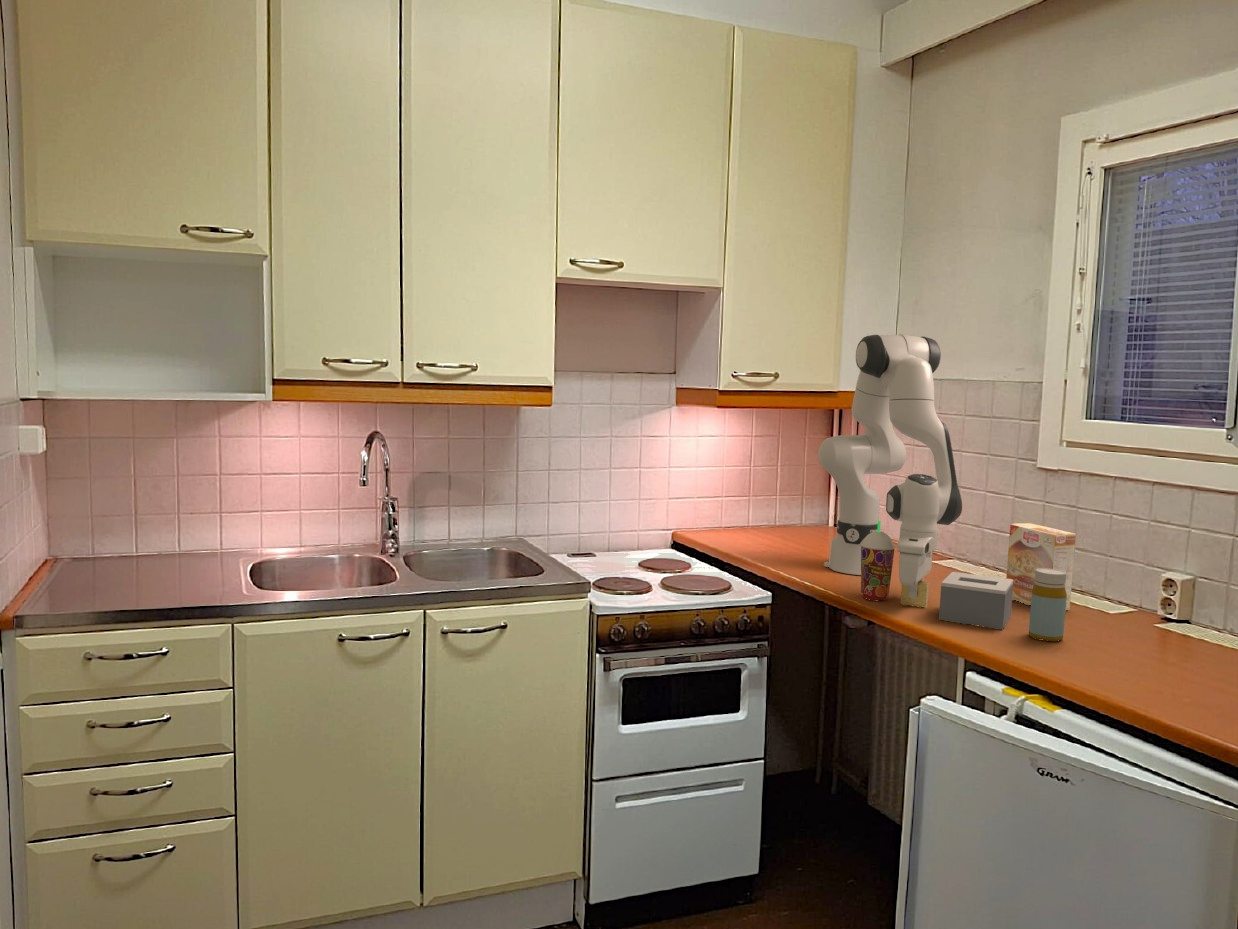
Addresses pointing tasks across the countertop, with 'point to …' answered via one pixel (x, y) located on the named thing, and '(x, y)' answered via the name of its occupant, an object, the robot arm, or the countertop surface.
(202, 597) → the countertop surface
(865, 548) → the smoothie
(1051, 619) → the bottle
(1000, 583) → the coin box
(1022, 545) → the coffeecake box
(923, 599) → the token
